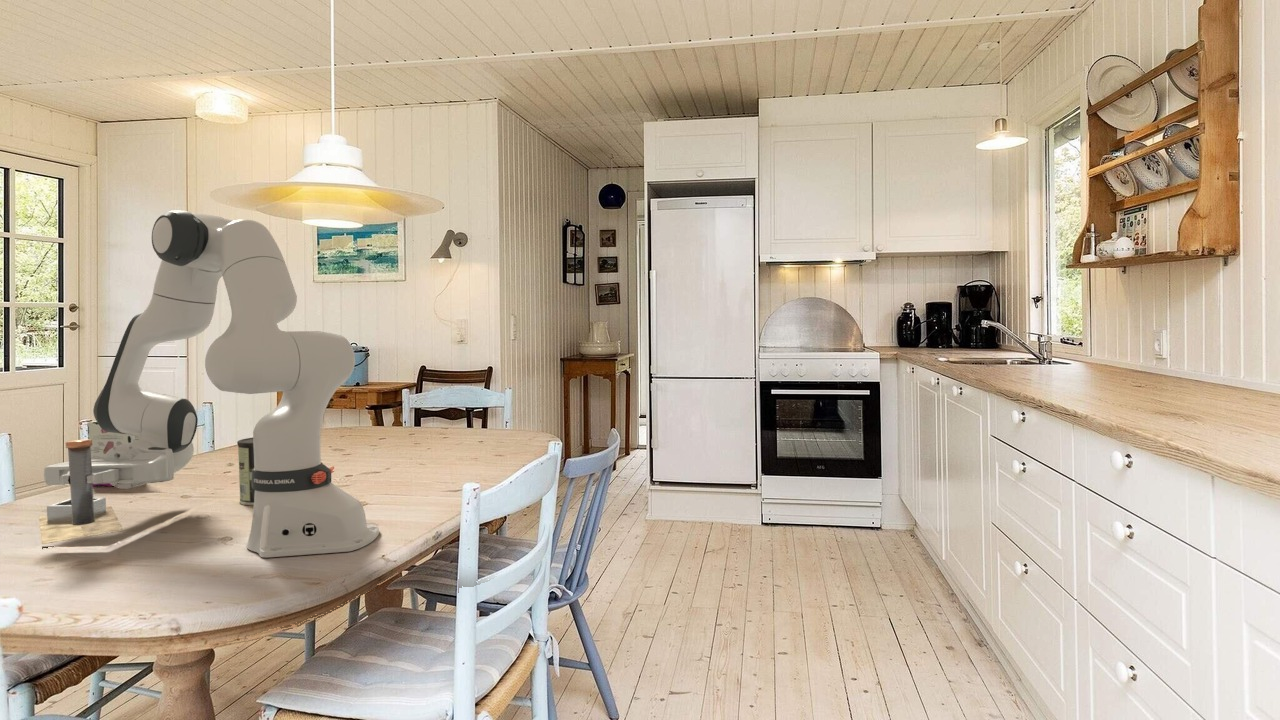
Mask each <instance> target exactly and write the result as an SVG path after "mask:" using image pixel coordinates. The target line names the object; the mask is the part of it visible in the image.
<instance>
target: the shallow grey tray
mask: <svg viewBox="0 0 1280 720" xmlns="http://www.w3.org/2000/svg"><path fill="white" fill-rule="evenodd" d="M93 498H94V515H95V516H96V515H99V514H101V513H104V512H106V507H107V498H106V497H93ZM46 516H47V521H72V507H71V498H68V499H65V500H63V501H59V502H55V503H53V504H50V505H47V506H46Z"/></svg>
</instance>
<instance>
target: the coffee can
mask: <svg viewBox="0 0 1280 720" xmlns="http://www.w3.org/2000/svg"><path fill="white" fill-rule="evenodd" d="M237 450H238V451H237V455H238V456H237V457H238V479H239V485H238V486H239V504H241V505H242V506H254V498H253V494H252V469H253V468H254V444H253V437H246V438H242V439H239V440H237Z"/></svg>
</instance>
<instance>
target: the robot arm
mask: <svg viewBox="0 0 1280 720" xmlns="http://www.w3.org/2000/svg"><path fill="white" fill-rule="evenodd" d="M151 244H152V248H153V250H154V253H156V255H157V257H158V258H159V259H160V260H161V262H160V264H159V267H158V270H157V273H156V277H155V281H154V284H153V291H152V295H151V299H150V301H149V304H148V305H147V307H146V308H145V310H144V311H143V312H141V313H138V314H136V315H134V316H133V317H132V318H131V320H130V321H129V323H128V325H127V326H126V329H125V331H124V334H123V336H122V337H121V340H120V343H119V346H118V349H117V352H116V354H115V357H114V359H113V363H112V365H111V368H110V371H109V374H108V377H107V379H106V381H105V384H104V386H103V388H102V389H101V391H100V393H99V395H98V397H97V398H96V400H95V402H94V405H93V411H92V412H93V416H94V418H95V421H97V423H98V424H99V426H100V427H101V428H102V429H103V430H104V431H106V432H112V433H120V434H129V435H134V436H139V437H140V438H139V439H138V440H137V441H135V442H131V443H127V444H122V445H118V446H115V447H113V448H111V449H110V450H109V451H108V452H107V453H106V454H105V455H104V457H103V459H96V460H91V464H92V474H88V475H87V484H104V483H110V484H111V485H112V486H114V488H117V489H121V490H123V489H124V490H128V489H133V488H136V487H140V486H143V485H147V484H156V483H164V482H169V481H172V480H174V478H175V474H176V473H178V472H179V471H181V470H182V469H184V468H185V467H186V466H187V465H188V464H189V463H190V461H192V458H193V456H194V452H195V450H194V449H195V448H194V444H193V440H194V438H195V437H196V436H195V435H196V433H197V429H198V415H197V412H196V409H195V407H194V405H193V404H192V402H191V401H190V400H189V399H187V398H183V397H178V396H175V395H171V394H165V393H159V392H154V391H151V390H146V389H143V388H141V387H140V385H139V380H140V377H141V375H142V373H143V370H144V367H145V364H146V361H147V359H148V356H149V354H150V352H151V350H152V349H153V348H154V347H156V346H157V345H158V344H161V343H165V342H173V341H180V340H181V341H182V340H187V339H191V338H193V337H196V336H197V335H199V334H202V333H203V332H204V331H206V329H207V328H208V327H209V326H210V324H211V323H212V319H213V318H214V317H213V316H214V312H215V306H216V301H217V293H218V285H219V281H220V279H221V278H223V282H224V285H225V290H226V292H227V296H228V300H229V305H230V311H231V319H230V323H229V325H228V327H227V329H225V331H224V332H223V333H222V334H221V335H220V336H218V337H217V338H215V340H214V341H213V342H212V343H211V344H210V346H209V347H208V348H207V352H206V355H205V358H204V366H205V367H204V368H205V372H206V375H207V377H208V379H209V381H211V383H212V385H213V386H215V387H216V388H217V389H218V390H219V391H221V392H228V393H235V394H246V395H254V394H255V395H256V394H267V393H280V392H282V396H281V399H280V401H279V403H278V405H277V406H276V407H275V408H274V409H273V410H272V411H271V412H269V413H267V414H265V415H264V416H263V417H261V418H260V419H259V420H258V421H257V422H256V424H255V426H254V429H253V431H252V435H253V437H252V438H253V444H254V468H253V469H252V494H253V498H254V505H253V512H252V521H251V526H250V530H249V531H250V532H249V536H248V540H247V543H246V548H247V549H248V550H250V551H251V552H254V553H257V554H258V555H259V557H261V558H276V557H289V556H290V557H291V556H293V557H294V556H305V555H306V556H307V555H321V554H332V553H333V554H334V553H347V552H352V551H355V550H359V549H362V548H364V547H366V546H368V545H370V543H372V542H373V541H374V540H376V539H377V538H378V536H379V535H380V530H379V526H378V525H376V524H368V523H367V522H368V521H367V518H366V512H365V508H364V506H363V504H362V502H361V501H360V500H359V499H357V498H356V497H354V496H352V495H351V494H349V493H348V492H346V491H345V490H344V489H341V488H340V487H339V486H337V485H335V484H334V483H333V482H332V473H333V474H334V472H335V470H334V469H335V466H330V467H329V466H326V465H325V464H324V463H323V462H322V461H321V460H322V459H321V458H322V457H321V456H322V455H321V453H322V452H321V441H322V439H321V438H322V426H323V425H322V424H323V418H324V415H325V412H326V409H327V407H328V404H329V403H330V401H331V399H332V397H333V396H334V394H335V393H336V391H337V390H338V389H339V388H340V387H341V386H342V385H343V384H344V383H346V382H347V381H348V380H349V378H350V377H351V375H352V374H353V372H354V370H355V365H356V355H355V351H354V349H353V346H352V345H351V343H350V342H349V340H348V339H347V338H346V337H345V336H344V335H341V334H336V333H331V332H327V331H326V332H325V331H321V330H313V331H312V330H311V331H309V330H308V331H307V330H305V331H303V330H302V331H301V330H300V331H298V330H297V331H296V330H295V331H293V330H292V331H290V330H289V331H285V330H281V329H280V328H279V327H278V324H279V323H280V322H282V321H284V320H285V319H287V318H288V317H289V316H290V315H292V313H294V311H295V309H296V307H297V302H298V301H297V300H298V295H297V293H296V289H295V287H294V283H293V282H292V278H291V276H290V273H289V272H290V271H289V269H288V266H287V264H286V261H285V259H284V257H283V253H282V251H281V249H280V248H279V246H278V243H277V241H276V240H275V239H274V237H273V235H272V234H271V232H270V231H269V229H268V228H267V227H266V225H264V224H262V223H261V222H259V221H256V220H252V219H235V220H232V219H228V218H223V217H221V216H217V215H211V214H203V213H195V212H194V213H192V212H190V211H187V210H169V211H165V212H164V213H162V214H161V215H160V216H158V218H157V219H156V220H155V222H154V224H153V227H152V229H151ZM43 478H44V483H45V484H46V486H68V485H69V486H70V473H69V460H68V461H65V462H63V461H62V462H59V463H55V464H50V465H49V464H48V465H46V466H45V467H44V470H43Z"/></svg>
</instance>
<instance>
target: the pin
mask: <svg viewBox="0 0 1280 720" xmlns="http://www.w3.org/2000/svg"><path fill="white" fill-rule="evenodd" d="M91 446H92V440H91V439H88V438H87V439H75V440H68V441H65V448H66V449H67V454H68V461H69V473H70V485H69V486H70V489H69V490H70V499H71V507H72V523H73V525H85V524H90V523H93V522H95V515H94V498H95V497H94V487H93V484H87V475H88V474H92V464H91Z"/></svg>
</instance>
